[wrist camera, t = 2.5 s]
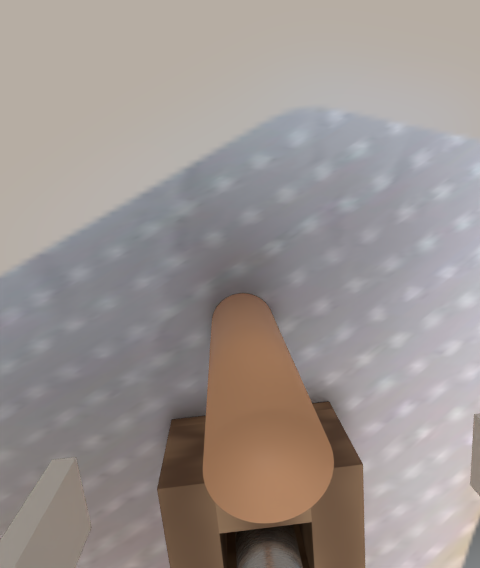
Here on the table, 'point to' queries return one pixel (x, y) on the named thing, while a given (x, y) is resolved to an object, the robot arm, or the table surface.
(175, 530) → the hole block
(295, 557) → the steel pin
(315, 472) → the peg
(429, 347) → the table surface
